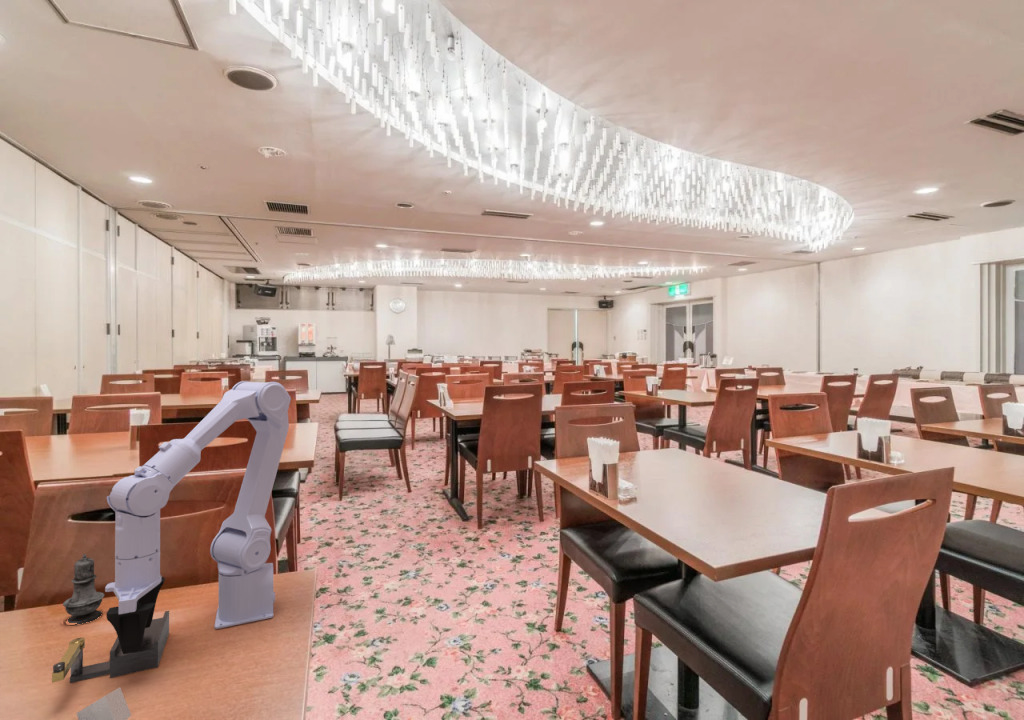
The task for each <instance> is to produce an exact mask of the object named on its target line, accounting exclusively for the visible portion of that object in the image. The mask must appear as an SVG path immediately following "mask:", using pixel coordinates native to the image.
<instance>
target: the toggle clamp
mask: <svg viewBox="0 0 1024 720" xmlns="http://www.w3.org/2000/svg"><path fill="white" fill-rule="evenodd" d="M169 636H170V610H166V611H164V614H163V616H162V617H158V618H153V619H152V622H151V625H150V627H148V628H145V632H144V638H143V643H142V646H141V649H140V651H138V652H133V653H128V654H123V652H122V650H121V646H120V643H119V639H118V636H117V637H116V638H115V640H114V642H113V644H112V646H111V649H110V650H109V660H107V661H104V662H99V663H94V664H89V665H84V648H83V649H82V650H80V652H79V654H78V656H77V657H76V659H75V661H74V663H73V664H72V666H71V668H70V677H69V684H73V683H77V682H80V681H86V680H90V679H94V678H99V677H103V676H107V675H109V679H113V678H117V677H122V676H125V675H130V674H134V673H138V672H143V671H148V670H153V669H157V668H159V666H160V662H161V659H162V657H163V652H164V650H165V647H166V644H167V641H168V638H169Z"/></svg>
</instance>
